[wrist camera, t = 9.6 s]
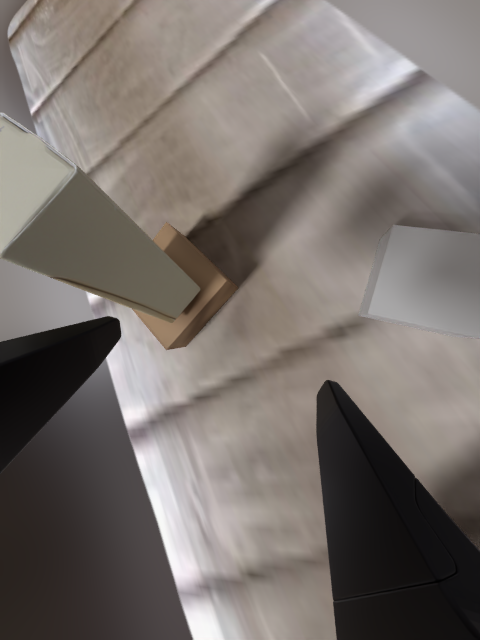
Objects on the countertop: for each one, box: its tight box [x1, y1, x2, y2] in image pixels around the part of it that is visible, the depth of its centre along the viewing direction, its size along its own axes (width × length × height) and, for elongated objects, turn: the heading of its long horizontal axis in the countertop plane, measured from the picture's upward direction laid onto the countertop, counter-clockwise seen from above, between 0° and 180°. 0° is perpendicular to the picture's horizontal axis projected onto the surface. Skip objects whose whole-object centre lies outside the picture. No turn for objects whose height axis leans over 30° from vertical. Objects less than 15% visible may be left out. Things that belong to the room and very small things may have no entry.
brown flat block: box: [132, 222, 238, 350], centre depth 22 cm, size 9×9×4 cm
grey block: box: [358, 225, 480, 339], centre depth 16 cm, size 7×7×3 cm
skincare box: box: [0, 113, 200, 323], centre depth 13 cm, size 6×4×12 cm
